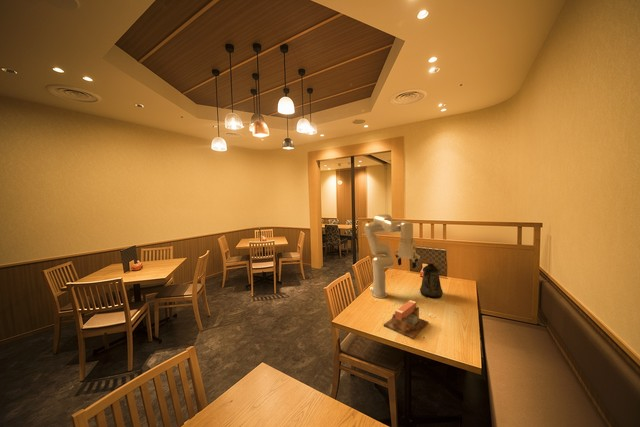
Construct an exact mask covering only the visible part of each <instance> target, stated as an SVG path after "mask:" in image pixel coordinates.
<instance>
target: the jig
mask: <svg viewBox="0 0 640 427" xmlns="http://www.w3.org/2000/svg"><path fill="white" fill-rule="evenodd" d="M411 314H412V315H414V316H417V325H416V326H413V325H411V324H408V323H407V317H404V318H403V320H402V321H400V320H398V319H395V313H393V314H392V316H391V318H390V319H389V320H387V321H386V322H385V323H383V327H384V328H387V329H390V330H391V331H393V332H396V333H398V334H401V335H402V336H405V337H407V338H409V339H411V340H413V339H415V338H416V336H417V335H419V334H420V333H421V332H422V331H423V330H424V329H425V328H426V327H427V325H429V321H427V320H425V319H422V318H420V307H419V306H416V308H415V310H414V311H413V312H412V313H411Z"/></svg>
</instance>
